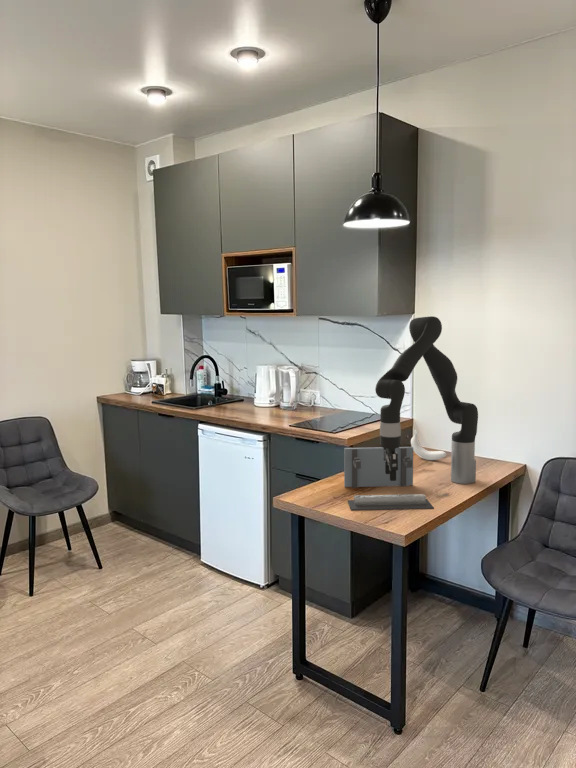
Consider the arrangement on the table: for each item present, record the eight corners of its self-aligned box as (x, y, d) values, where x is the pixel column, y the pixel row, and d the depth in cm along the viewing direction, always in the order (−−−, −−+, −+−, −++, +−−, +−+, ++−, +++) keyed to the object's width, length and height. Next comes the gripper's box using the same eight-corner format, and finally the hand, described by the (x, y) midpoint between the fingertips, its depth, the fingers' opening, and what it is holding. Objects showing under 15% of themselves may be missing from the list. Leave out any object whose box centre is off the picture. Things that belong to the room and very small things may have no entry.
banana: (444, 464, 267) (445, 433, 265) (408, 458, 279) (408, 428, 277) (449, 462, 270) (450, 431, 269) (413, 456, 283) (413, 426, 281)
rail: (423, 501, 213) (423, 494, 213) (425, 504, 211) (425, 496, 210) (354, 503, 213) (354, 495, 212) (355, 505, 210) (355, 497, 210)
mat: (426, 499, 217) (426, 498, 217) (433, 508, 207) (433, 507, 207) (347, 501, 216) (347, 500, 216) (350, 510, 207) (350, 509, 206)
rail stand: (412, 484, 236) (412, 446, 234) (419, 494, 223) (420, 454, 221) (344, 486, 235) (344, 448, 233) (348, 495, 223) (348, 455, 221)
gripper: (405, 437, 201) (405, 482, 203) (396, 429, 215) (396, 471, 218) (383, 438, 201) (384, 483, 203) (376, 430, 215) (377, 472, 217)
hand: (390, 477), depth 210 cm, fingers open, 8 cm apart
